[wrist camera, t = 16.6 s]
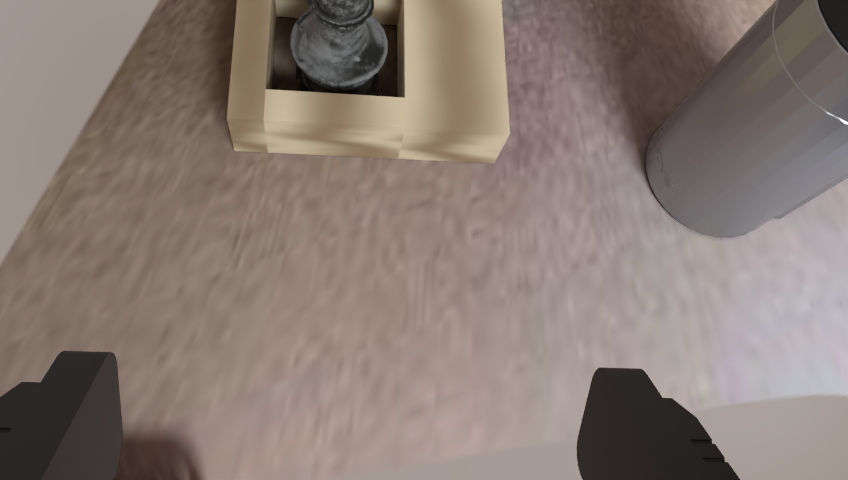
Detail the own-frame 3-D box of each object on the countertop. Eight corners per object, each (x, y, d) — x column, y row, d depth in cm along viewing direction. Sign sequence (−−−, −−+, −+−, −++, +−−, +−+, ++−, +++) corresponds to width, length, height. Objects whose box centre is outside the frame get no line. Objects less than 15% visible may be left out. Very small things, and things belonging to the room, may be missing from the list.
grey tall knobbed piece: (288, 38, 47) (279, -106, 36) (376, 35, 48) (395, -106, 37) (295, 118, 45) (289, -9, 34) (388, 112, 46) (411, -12, 35)
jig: (484, -4, 50) (498, -45, 46) (494, 163, 46) (510, 133, 42) (248, -23, 48) (243, -68, 44) (234, 150, 43) (226, 118, 40)
